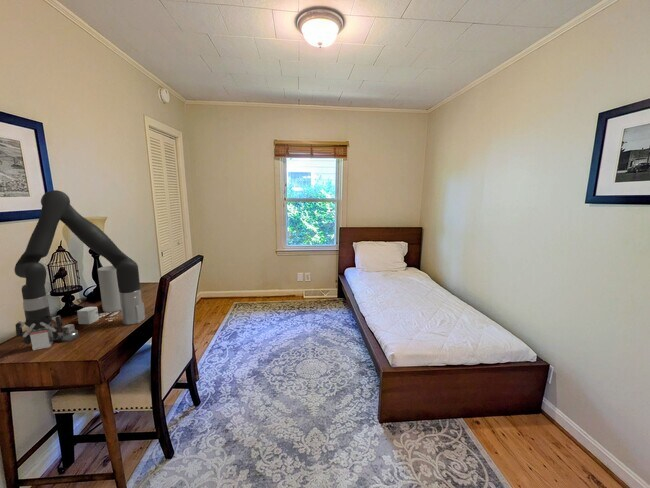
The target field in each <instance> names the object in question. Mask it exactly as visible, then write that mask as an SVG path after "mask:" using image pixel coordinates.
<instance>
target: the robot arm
mask: <svg viewBox="0 0 650 488" xmlns="http://www.w3.org/2000/svg"><path fill="white" fill-rule="evenodd" d="M40 199H41V200H40V204H41V212H40V215H39V218H38V221H37V223H36V225H35V227H34V230H33V231H32V233H31V236H30V238H29V240H28V243H27V245H26V249H25V251H24V252H23V254H21V256H20V258H19V259H18V260H17V262H16V263H15V266H14V274H15V275H16V277H19V278H23V279H25V284H24V285H22V286H21V296H22V305H23V306H22V307H23V311H24V317H25V321H18V322H16V324H15V335H16V337H17V338H20V337H22V338H23V342H24V344H25V345H27V346H28V345H31V344H32V343H31V340H30V335H28V334H30V332H31V331H32V330H38V329H44V328H47V329H50V330H51V331H52V333H53V339H56V338H57V337H58V333H59V330H62V327H63V326H64V325H63V322H62V317H61V315H60V314H58V315H56V316H51V312H50V306H49V305H50V304H49V300H48V296H47V292H46V286H45V285H46V281H47V269H46V267H45V266H44V264H43V263H40V261H41V259H42V258H45V257H47V256H48V254H49V253H50V249H51V247H52V243H53V240H54V237H55V234H56V231H57V229H58V225H59V222H62V223H63V224H64V225H65V226H66V227H67V228H68V229H69V231H71V232H72V233H73V234H74V235H75V236H76V237H77V238H78V239H79V240H80V241H81V242H82V243H83V244H84V245H85V246H86V247H87V248H88V249H90V250H91V251H92V252H94V253H96V254H97V255H99V256H100V257H102V258H104V259H106V260H107V261H108V262H109V263H110V264H111V266H114V267H115V268H116V274H117V282H118V288H119V295H120V303H121V310H120V311H121V317H122V318H121V319H122V325H135V324H140V323H142V321H143V320H145V319H146V312H145V311H146V310H145V303H144V302H143V300H142V293H141V291H142V290H141V283H140V272H139V265H138V263H137V262H136V261H135V260H133V259H132V258H131V257H130V256H128V255H126V254H125V253H124V252H123V251H122V250H121V249H120V248H119V247H118V246H117V244H116V243H114V241H113V240H112V239H111V238H110V237H109V236H108V235H107V234H106V233H105V232H104V231H103V230H102V229H101V228H100V227H98V225H96V224H94V222H91V221H90V220H88V219H87V218H85V217H84V216H82V214H80V213H79V212H78V211H77V210H76V209H75V208H74V207H73V206H72V205H71V200H70V197H69V196H68V194H66V192H63V191H62V190H55V189H54V190H53V189H52V190H49V191H46V192H45V193H44V194H43V195H42V197H41V198H40ZM51 321H54V322H55V323H56V325H55V324H53V323H52V322H51ZM24 326H27V327H28V328H27V329H26V331H24V332H23V327H24Z"/></svg>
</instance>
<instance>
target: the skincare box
mask: <svg viewBox="0 0 650 488" xmlns="http://www.w3.org/2000/svg"><path fill="white" fill-rule="evenodd" d="M76 313H77V314H76V315H77V321H78V324H79V325H90V324H93V323H94V322H95V323H96V322H97V321H99V320H100V318H99V310H98V306H86V307H83V308H81V309H79V310H76Z"/></svg>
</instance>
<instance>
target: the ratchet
mask: <svg viewBox="0 0 650 488" xmlns="http://www.w3.org/2000/svg"><path fill="white" fill-rule="evenodd" d="M28 335H30V333H29V334H28ZM52 337H53V332H52ZM79 337H80V335H79V330H78V329H75V324H72V323H70V324H66V325H63V327H62V328H61V332H58V337H57V338H56V339H53V341H60V342H62V343H65V342H66V343H67V342H71V341H74V340H76V339H79ZM30 340H31V337H30Z"/></svg>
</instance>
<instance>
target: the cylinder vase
mask: <svg viewBox="0 0 650 488" xmlns="http://www.w3.org/2000/svg"><path fill="white" fill-rule="evenodd" d="M97 276H98V284H99V290H100V299H101V306H102V311H103V312H105V313H115V312H119V311H121V303H120V295H119V288H118V282H117V274H116V268H115V267H114V266H113V265H107V266H102V267H99V268H97Z"/></svg>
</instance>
